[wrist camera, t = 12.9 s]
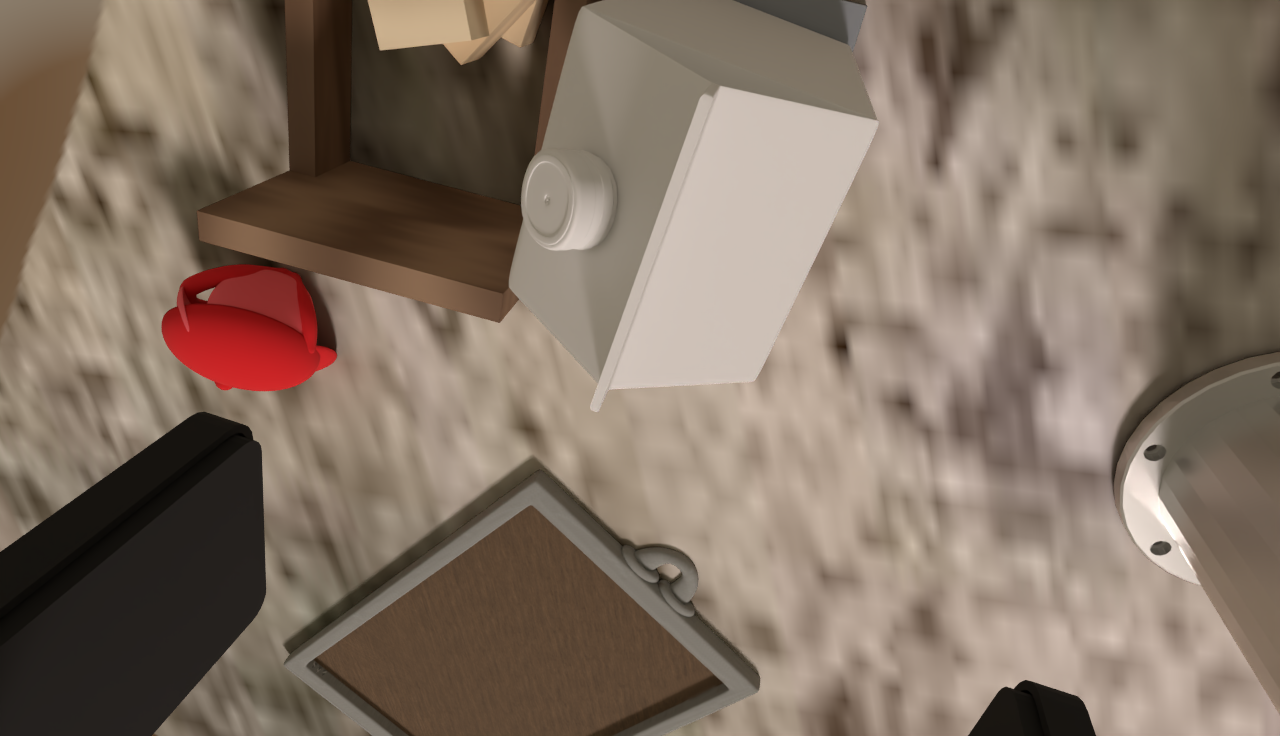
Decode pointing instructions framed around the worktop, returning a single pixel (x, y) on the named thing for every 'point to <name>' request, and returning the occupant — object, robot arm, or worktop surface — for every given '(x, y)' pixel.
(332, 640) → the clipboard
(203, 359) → the red rounded piece
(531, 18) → the offcut low
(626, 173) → the milk carton
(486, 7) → the offcut mid
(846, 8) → the pad
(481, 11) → the offcut top
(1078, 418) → the worktop surface
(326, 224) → the rack
